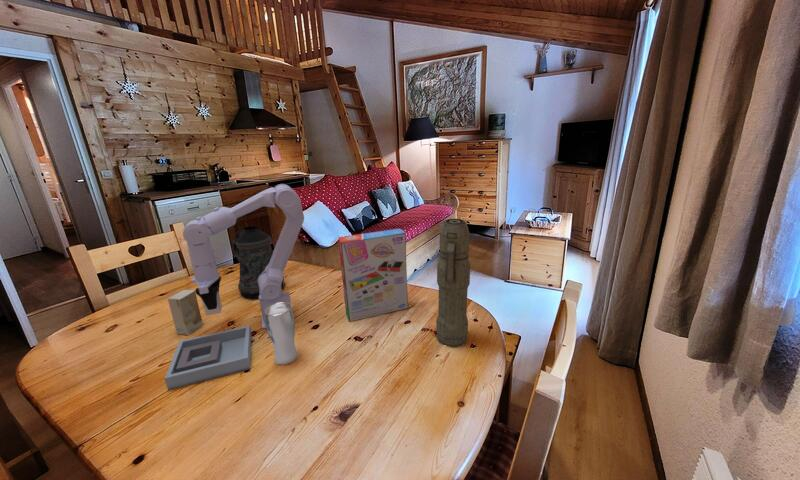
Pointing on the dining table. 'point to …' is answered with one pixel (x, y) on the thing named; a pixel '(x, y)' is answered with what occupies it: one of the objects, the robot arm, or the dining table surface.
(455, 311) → the thermos
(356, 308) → the game box
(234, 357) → the inlet box
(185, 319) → the skincare box
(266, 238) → the beer stein
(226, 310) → the dining table surface
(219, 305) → the plug
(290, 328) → the beer glass
